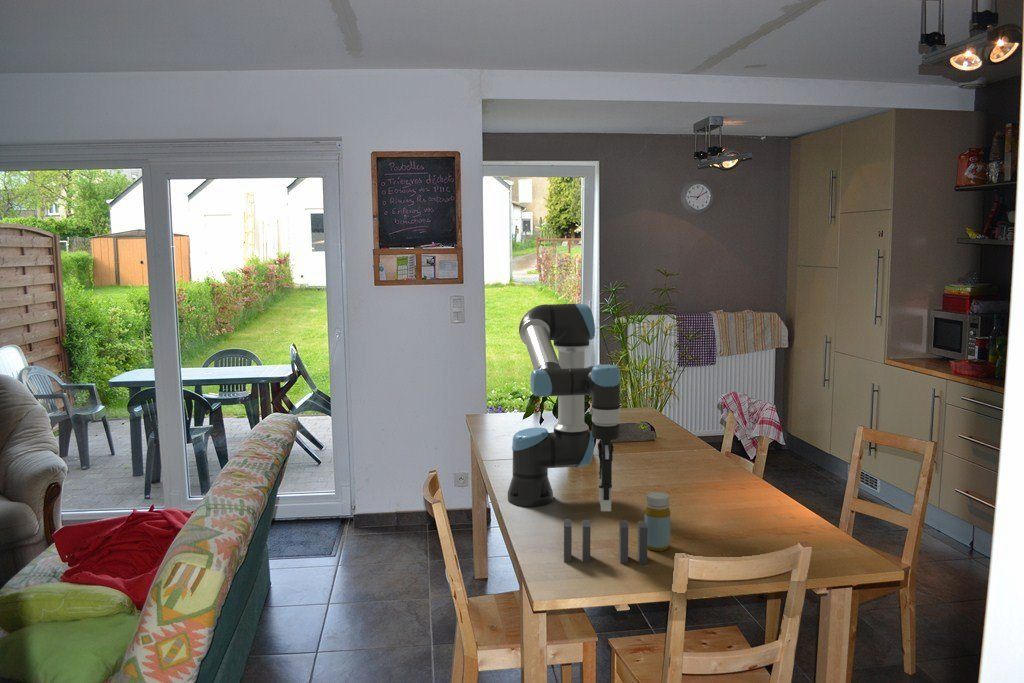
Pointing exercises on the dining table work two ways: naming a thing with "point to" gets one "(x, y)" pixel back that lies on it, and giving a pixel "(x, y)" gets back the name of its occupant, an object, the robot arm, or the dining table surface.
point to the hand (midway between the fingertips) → (605, 507)
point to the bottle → (658, 521)
